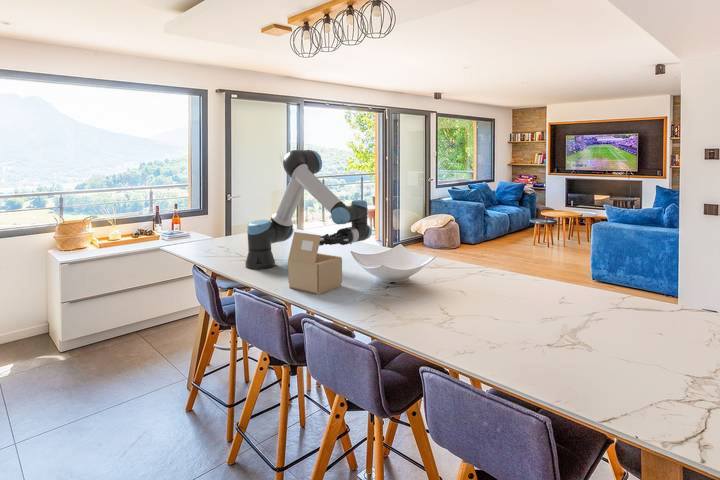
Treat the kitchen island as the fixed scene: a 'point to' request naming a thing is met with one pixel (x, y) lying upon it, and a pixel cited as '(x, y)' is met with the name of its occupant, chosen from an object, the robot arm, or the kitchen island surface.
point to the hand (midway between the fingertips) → (312, 243)
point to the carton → (316, 274)
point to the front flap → (304, 247)
